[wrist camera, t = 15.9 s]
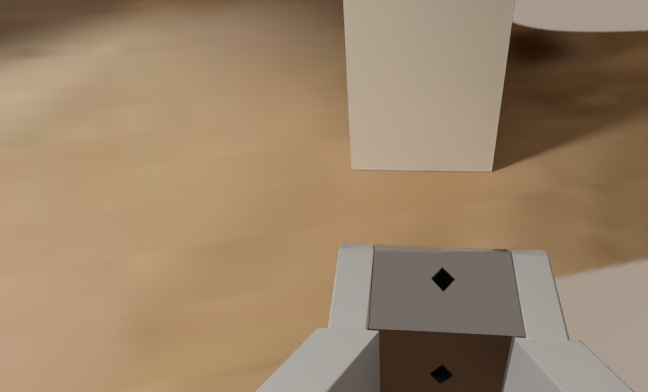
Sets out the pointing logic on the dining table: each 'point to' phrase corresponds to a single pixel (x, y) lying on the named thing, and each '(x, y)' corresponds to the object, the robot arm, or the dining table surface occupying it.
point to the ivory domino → (425, 82)
